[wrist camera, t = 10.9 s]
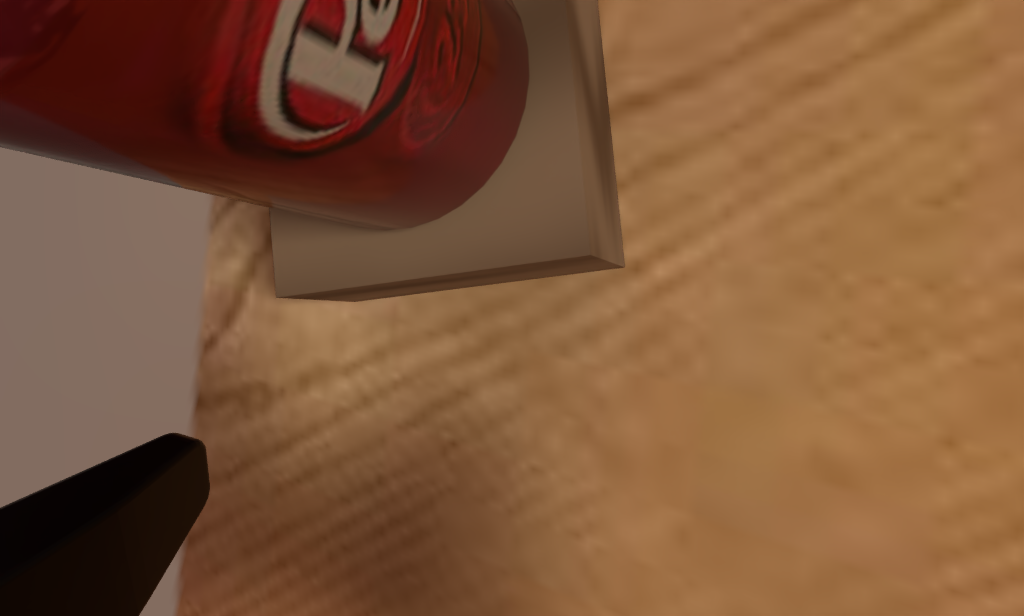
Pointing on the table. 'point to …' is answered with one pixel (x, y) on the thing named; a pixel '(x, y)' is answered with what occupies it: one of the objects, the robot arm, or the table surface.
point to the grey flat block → (491, 193)
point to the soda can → (273, 98)
